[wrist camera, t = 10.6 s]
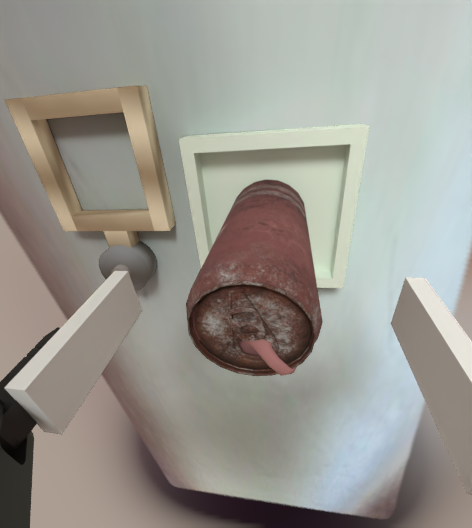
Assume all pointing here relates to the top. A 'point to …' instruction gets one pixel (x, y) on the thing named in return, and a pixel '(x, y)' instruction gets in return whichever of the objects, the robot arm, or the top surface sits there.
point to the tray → (287, 171)
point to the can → (258, 286)
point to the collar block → (61, 190)
